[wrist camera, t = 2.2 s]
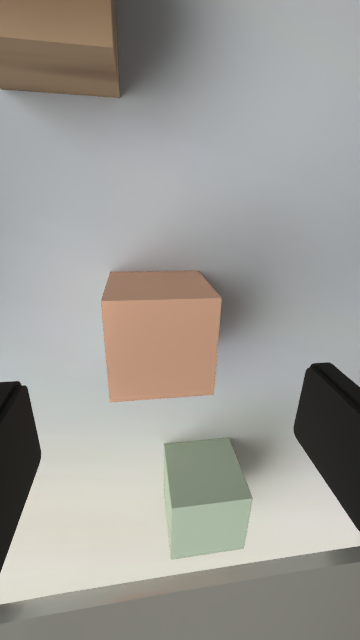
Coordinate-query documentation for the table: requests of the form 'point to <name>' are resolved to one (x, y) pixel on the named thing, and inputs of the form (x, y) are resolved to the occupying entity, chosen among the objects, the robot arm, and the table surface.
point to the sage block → (205, 498)
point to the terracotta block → (160, 334)
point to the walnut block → (59, 47)
